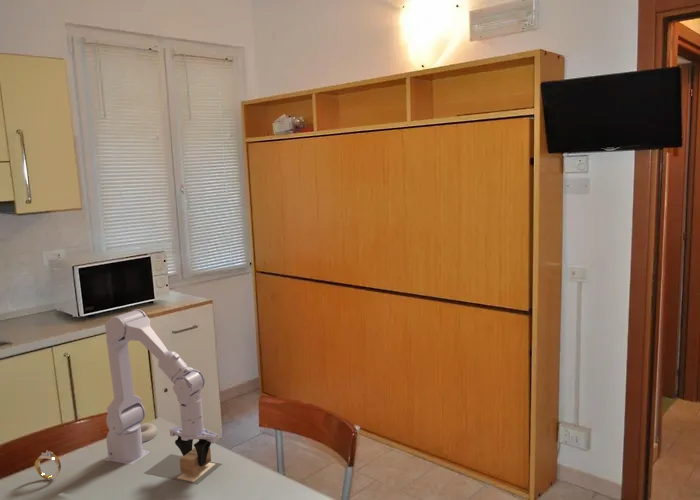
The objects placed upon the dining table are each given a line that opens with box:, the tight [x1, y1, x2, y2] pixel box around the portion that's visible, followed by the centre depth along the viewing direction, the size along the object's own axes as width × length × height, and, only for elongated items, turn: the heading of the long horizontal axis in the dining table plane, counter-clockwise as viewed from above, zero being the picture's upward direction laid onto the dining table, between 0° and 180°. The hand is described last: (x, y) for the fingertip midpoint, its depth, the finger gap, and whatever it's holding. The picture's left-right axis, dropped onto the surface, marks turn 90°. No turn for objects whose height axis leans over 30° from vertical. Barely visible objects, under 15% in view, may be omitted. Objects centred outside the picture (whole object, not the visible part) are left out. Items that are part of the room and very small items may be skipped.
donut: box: [141, 422, 158, 443], centre depth 178 cm, size 10×4×10 cm
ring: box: [34, 449, 62, 481], centre depth 156 cm, size 7×3×8 cm, turn 76°
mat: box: [144, 453, 223, 485], centre depth 158 cm, size 18×11×1 cm, turn 67°
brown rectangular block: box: [180, 446, 212, 475], centre depth 155 cm, size 8×4×4 cm, turn 157°
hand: (195, 463), depth 156 cm, fingers closed on brown rectangular block, 4 cm apart
